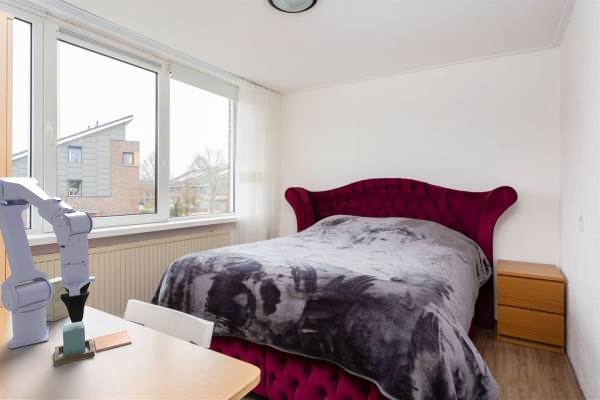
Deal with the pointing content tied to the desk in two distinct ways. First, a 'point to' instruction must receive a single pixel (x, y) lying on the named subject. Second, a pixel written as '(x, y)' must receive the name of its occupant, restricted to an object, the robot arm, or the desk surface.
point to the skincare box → (56, 302)
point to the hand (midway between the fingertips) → (77, 316)
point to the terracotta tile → (111, 340)
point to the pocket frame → (74, 357)
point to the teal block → (74, 339)
